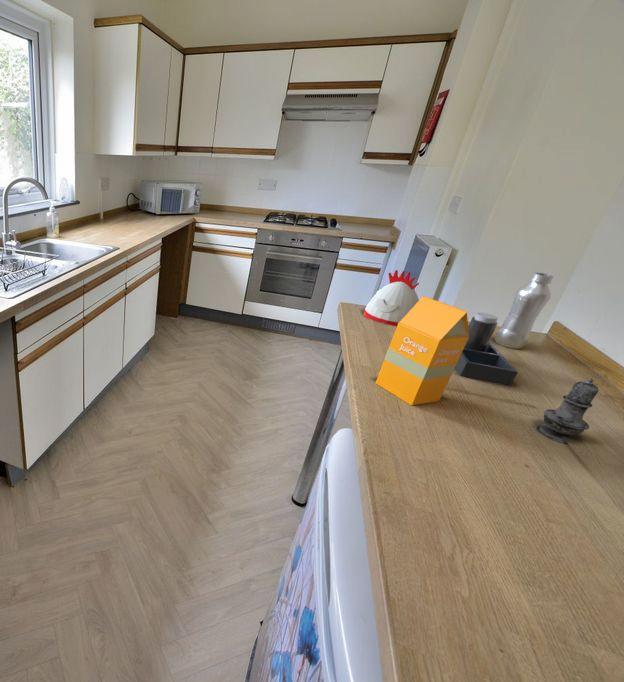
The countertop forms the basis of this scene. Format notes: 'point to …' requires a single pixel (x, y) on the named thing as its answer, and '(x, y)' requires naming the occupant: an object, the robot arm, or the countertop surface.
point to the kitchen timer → (393, 300)
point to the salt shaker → (569, 413)
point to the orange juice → (424, 351)
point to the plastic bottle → (524, 312)
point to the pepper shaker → (480, 331)
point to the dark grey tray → (486, 366)
